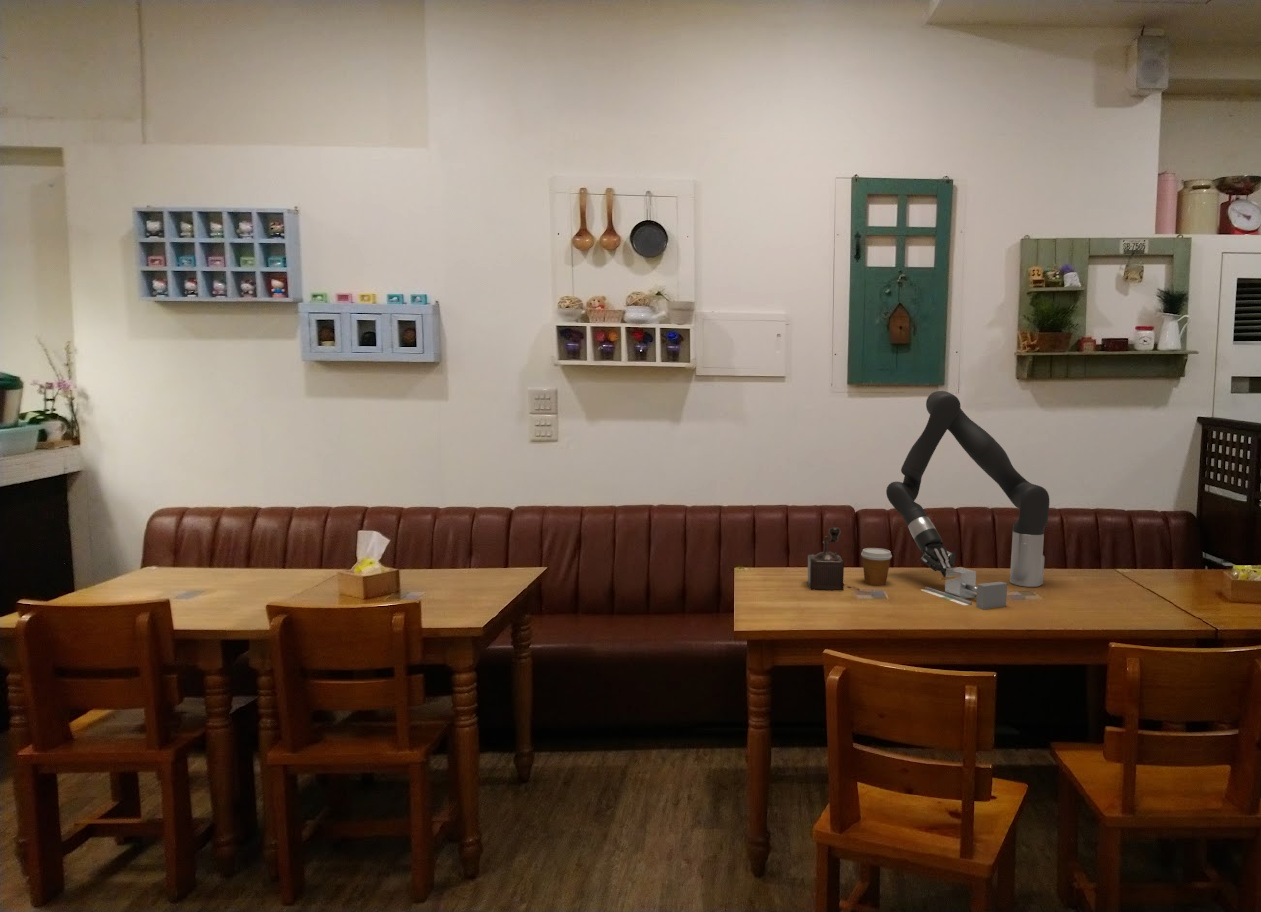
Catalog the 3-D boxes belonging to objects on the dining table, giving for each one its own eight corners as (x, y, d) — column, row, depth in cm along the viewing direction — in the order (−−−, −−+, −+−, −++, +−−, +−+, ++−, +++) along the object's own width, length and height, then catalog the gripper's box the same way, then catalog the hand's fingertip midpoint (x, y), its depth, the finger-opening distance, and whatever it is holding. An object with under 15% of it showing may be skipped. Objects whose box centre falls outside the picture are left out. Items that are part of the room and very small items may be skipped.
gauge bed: (950, 589, 256) (952, 564, 255) (1012, 610, 234) (1014, 582, 233) (916, 593, 251) (917, 568, 250) (976, 615, 229) (977, 587, 228)
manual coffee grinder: (845, 591, 253) (848, 535, 252) (810, 590, 255) (812, 534, 253) (838, 579, 269) (840, 526, 267) (804, 577, 270) (806, 525, 268)
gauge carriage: (959, 592, 248) (961, 567, 247) (987, 601, 237) (989, 575, 237) (932, 595, 243) (933, 570, 243) (959, 605, 233) (960, 578, 232)
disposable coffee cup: (892, 592, 253) (893, 554, 252) (861, 590, 255) (862, 553, 253) (888, 584, 262) (890, 548, 261) (858, 582, 264) (860, 546, 263)
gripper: (914, 528, 251) (941, 576, 241) (947, 526, 256) (975, 572, 246) (902, 542, 257) (928, 589, 247) (934, 539, 262) (961, 585, 252)
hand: (951, 580), depth 247 cm, fingers closed
